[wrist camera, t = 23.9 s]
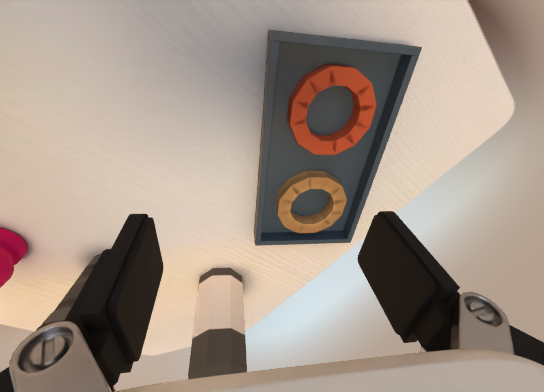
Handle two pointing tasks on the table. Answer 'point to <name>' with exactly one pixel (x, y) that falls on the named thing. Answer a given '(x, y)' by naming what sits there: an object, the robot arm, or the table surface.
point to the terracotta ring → (359, 117)
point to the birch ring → (302, 184)
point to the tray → (324, 129)
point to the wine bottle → (218, 326)
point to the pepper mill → (10, 253)
